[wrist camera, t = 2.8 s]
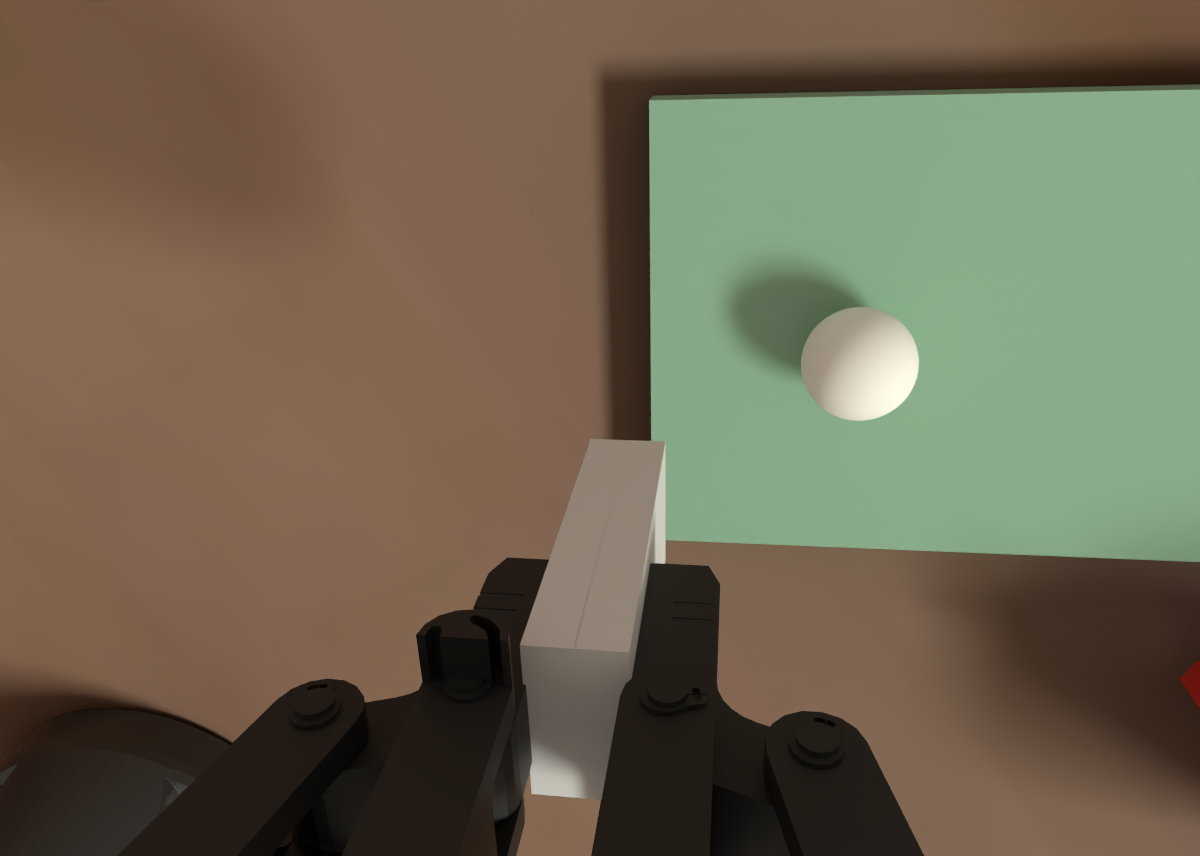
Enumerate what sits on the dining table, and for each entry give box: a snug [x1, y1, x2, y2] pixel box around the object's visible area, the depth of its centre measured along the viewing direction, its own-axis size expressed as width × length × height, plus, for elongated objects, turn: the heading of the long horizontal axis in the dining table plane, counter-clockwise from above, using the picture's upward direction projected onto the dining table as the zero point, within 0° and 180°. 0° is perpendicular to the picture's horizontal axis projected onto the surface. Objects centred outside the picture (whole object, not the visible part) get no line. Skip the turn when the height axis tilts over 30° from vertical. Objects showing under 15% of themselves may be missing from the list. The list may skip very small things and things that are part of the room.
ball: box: [801, 307, 919, 421], centre depth 26 cm, size 3×3×3 cm
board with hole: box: [649, 84, 1200, 562], centre depth 26 cm, size 28×14×4 cm, turn 92°
